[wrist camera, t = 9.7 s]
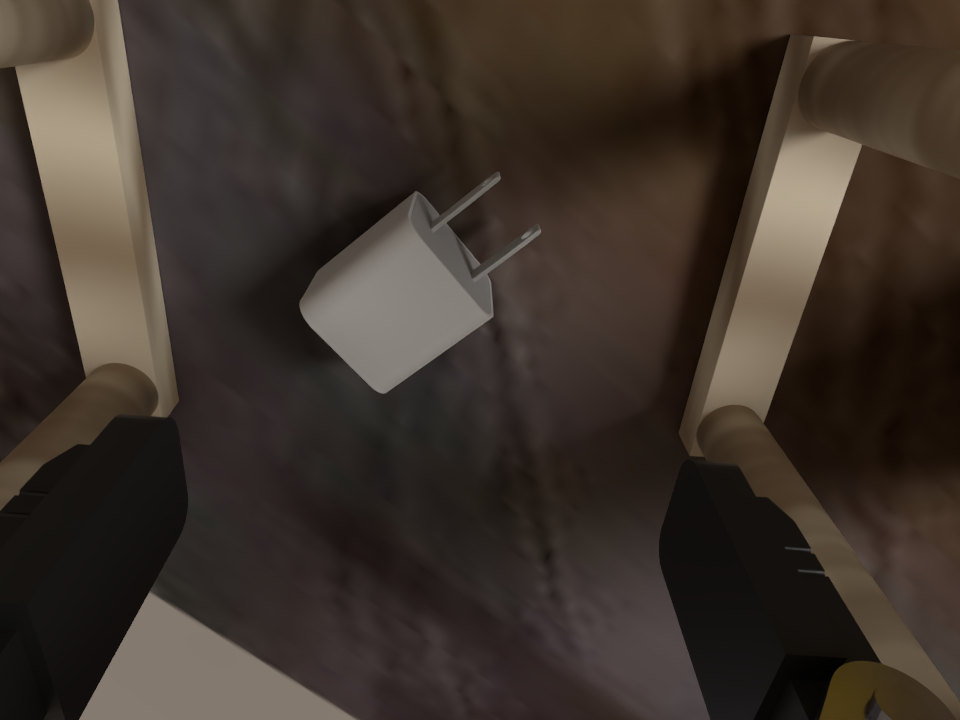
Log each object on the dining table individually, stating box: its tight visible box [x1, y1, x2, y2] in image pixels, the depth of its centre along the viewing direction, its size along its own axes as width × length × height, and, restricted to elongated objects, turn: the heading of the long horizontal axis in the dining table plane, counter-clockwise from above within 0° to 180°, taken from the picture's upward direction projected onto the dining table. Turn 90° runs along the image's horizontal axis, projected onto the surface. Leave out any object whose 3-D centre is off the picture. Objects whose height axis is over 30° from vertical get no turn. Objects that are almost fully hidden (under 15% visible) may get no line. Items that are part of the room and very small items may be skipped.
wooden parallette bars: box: [0, 0, 960, 720], centre depth 15 cm, size 14×25×16 cm, turn 85°
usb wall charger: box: [299, 172, 541, 394], centre depth 21 cm, size 4×7×4 cm, turn 128°
